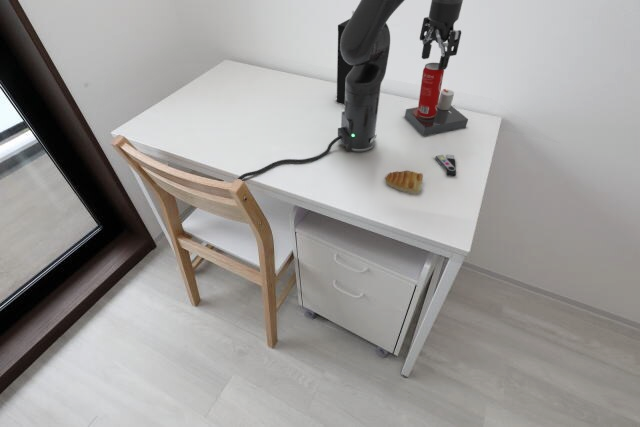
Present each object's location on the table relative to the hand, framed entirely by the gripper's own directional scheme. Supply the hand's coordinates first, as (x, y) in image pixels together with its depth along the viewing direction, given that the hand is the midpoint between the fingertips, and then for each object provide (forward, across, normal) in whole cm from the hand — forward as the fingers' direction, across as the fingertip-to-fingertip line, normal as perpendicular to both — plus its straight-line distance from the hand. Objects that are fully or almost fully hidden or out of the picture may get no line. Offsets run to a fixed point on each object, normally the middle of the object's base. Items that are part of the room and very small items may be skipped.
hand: (433, 63), depth 97 cm
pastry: (+18, -27, +21) cm, 39 cm away
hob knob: (+15, 0, -8) cm, 17 cm away
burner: (+15, -1, 0) cm, 15 cm away
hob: (+18, -3, -3) cm, 19 cm away
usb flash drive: (+18, -23, +7) cm, 30 cm away
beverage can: (+15, -2, 0) cm, 15 cm away
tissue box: (+18, +21, +15) cm, 32 cm away
